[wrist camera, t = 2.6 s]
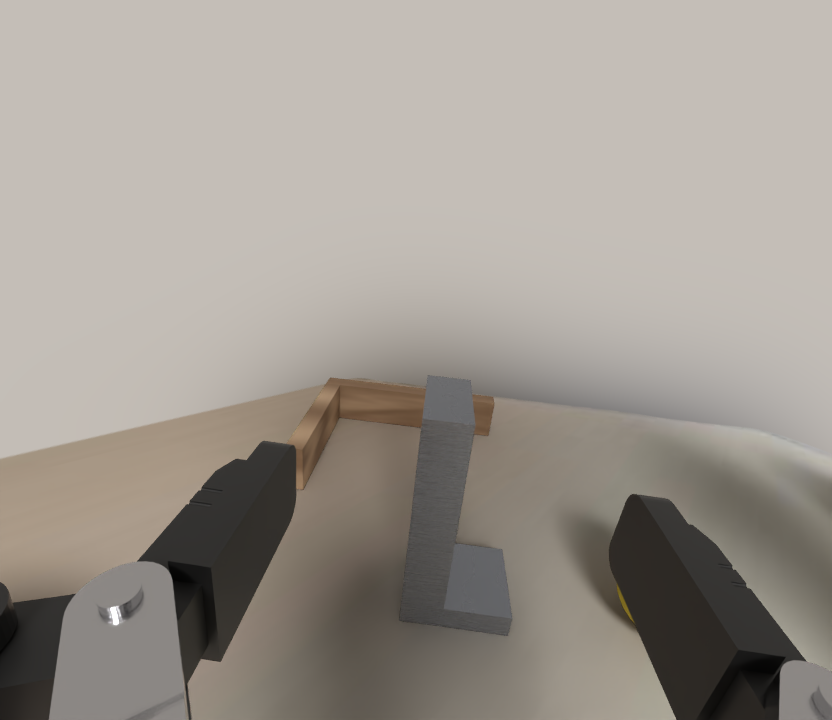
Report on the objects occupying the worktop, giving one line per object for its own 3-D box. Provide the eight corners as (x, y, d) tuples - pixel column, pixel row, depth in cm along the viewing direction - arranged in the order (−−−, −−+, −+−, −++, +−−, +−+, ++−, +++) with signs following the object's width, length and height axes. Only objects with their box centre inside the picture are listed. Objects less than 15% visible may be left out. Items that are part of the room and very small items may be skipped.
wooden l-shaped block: (500, 515, 33) (509, 475, 32) (285, 487, 34) (284, 447, 33) (487, 428, 46) (492, 396, 44) (329, 409, 47) (330, 377, 45)
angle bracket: (507, 635, 24) (561, 435, 19) (399, 620, 25) (422, 418, 19) (498, 565, 29) (539, 388, 24) (407, 553, 29) (427, 375, 24)
